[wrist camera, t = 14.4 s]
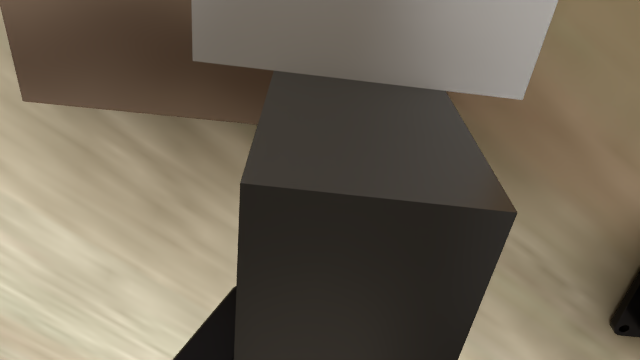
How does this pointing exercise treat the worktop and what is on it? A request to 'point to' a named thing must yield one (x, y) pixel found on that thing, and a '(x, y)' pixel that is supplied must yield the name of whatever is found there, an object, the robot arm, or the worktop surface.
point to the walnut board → (125, 60)
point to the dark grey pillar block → (368, 169)
